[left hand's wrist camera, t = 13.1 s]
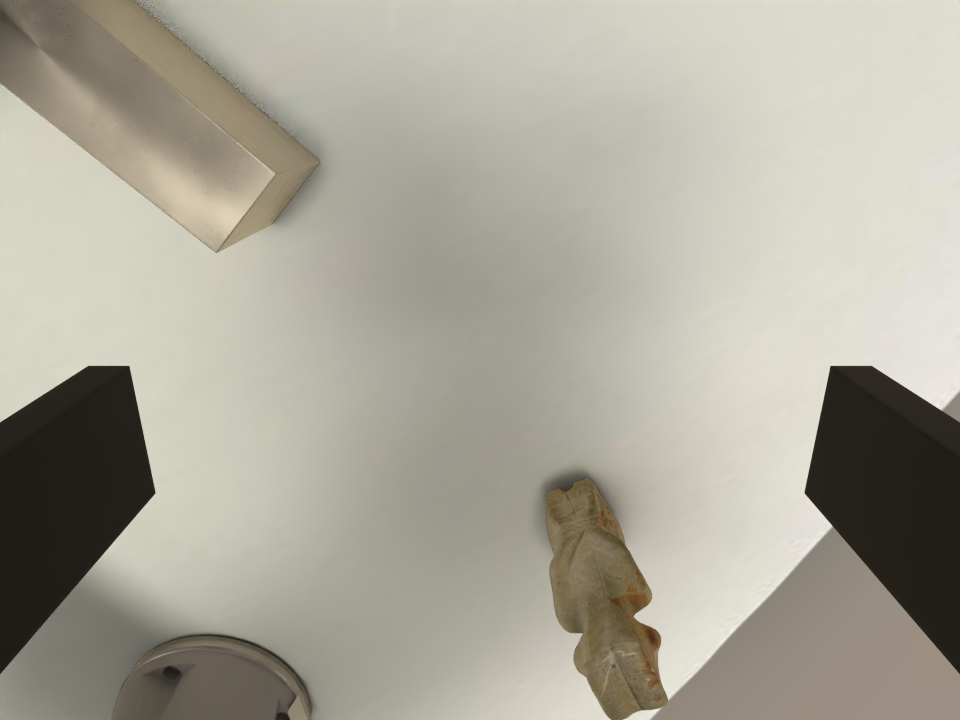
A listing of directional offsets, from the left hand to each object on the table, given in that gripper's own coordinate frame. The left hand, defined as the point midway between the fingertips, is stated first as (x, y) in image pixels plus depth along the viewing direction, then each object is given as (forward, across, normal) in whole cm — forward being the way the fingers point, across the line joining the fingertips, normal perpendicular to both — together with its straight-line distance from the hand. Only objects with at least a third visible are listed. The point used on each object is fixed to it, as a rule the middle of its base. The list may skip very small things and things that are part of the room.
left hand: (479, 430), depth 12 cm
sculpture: (+29, -7, +21) cm, 37 cm away
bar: (+29, +19, -8) cm, 36 cm away
